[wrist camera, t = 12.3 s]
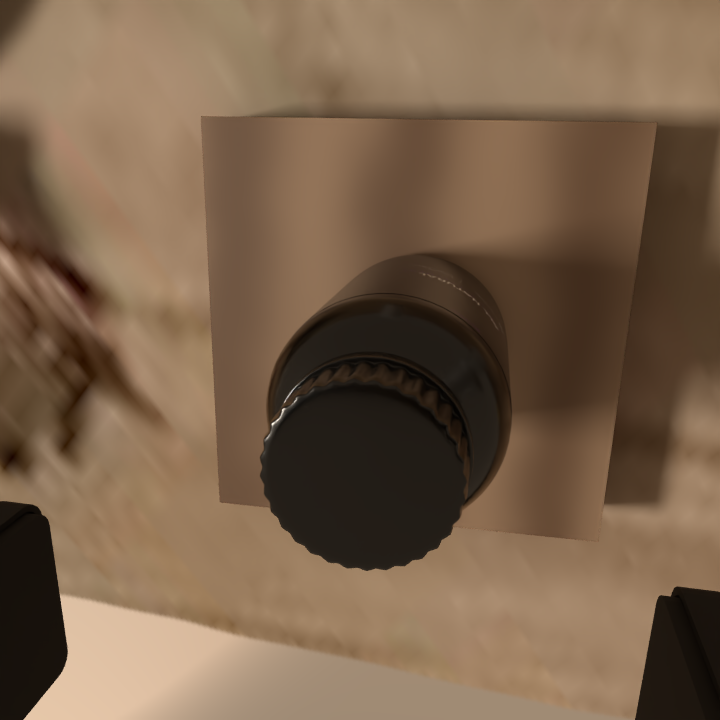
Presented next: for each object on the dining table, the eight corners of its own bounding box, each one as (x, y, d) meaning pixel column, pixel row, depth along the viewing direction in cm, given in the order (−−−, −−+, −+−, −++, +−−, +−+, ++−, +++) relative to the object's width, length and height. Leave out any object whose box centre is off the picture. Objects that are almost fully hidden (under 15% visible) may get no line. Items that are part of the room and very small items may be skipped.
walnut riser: (638, 124, 26) (657, 122, 23) (587, 505, 31) (598, 541, 28) (228, 118, 28) (200, 116, 25) (242, 471, 33) (219, 502, 30)
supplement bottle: (510, 251, 25) (533, 339, 14) (502, 425, 27) (515, 628, 16) (325, 249, 26) (205, 329, 15) (330, 417, 28) (227, 599, 17)
